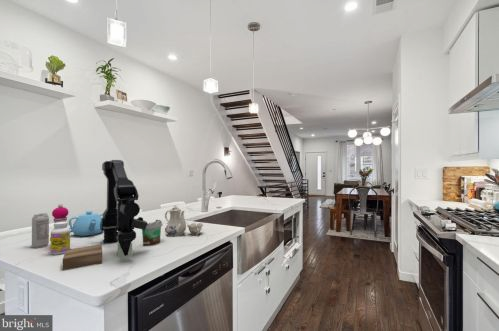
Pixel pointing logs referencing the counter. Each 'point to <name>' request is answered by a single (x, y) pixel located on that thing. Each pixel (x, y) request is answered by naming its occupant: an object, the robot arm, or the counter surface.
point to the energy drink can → (40, 230)
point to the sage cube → (121, 254)
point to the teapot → (86, 224)
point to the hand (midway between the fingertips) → (124, 252)
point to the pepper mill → (60, 214)
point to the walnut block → (82, 257)
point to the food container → (152, 233)
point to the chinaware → (179, 223)
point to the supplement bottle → (60, 238)
